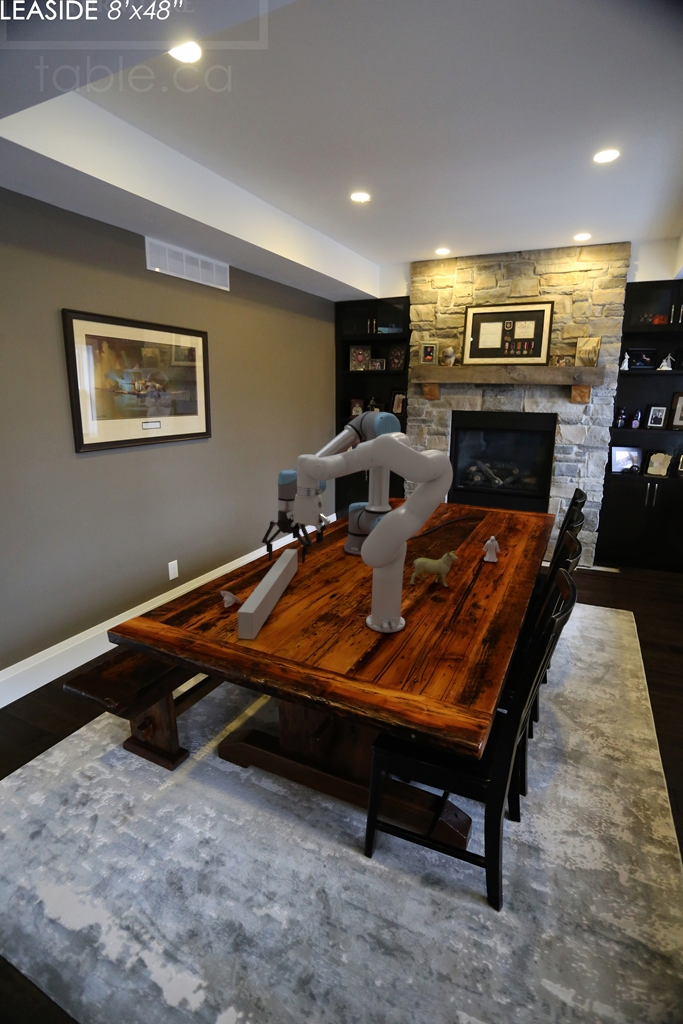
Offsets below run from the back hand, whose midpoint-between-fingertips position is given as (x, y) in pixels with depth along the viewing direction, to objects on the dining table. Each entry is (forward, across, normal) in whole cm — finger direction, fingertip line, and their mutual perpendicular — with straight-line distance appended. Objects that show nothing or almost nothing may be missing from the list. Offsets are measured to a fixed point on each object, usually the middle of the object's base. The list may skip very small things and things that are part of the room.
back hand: (287, 561), depth 202 cm
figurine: (+4, -86, -34) cm, 92 cm away
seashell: (+7, +12, +32) cm, 35 cm away
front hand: (-17, -13, +24) cm, 33 cm away
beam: (+6, 0, +23) cm, 24 cm away
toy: (+5, -59, 0) cm, 59 cm away
